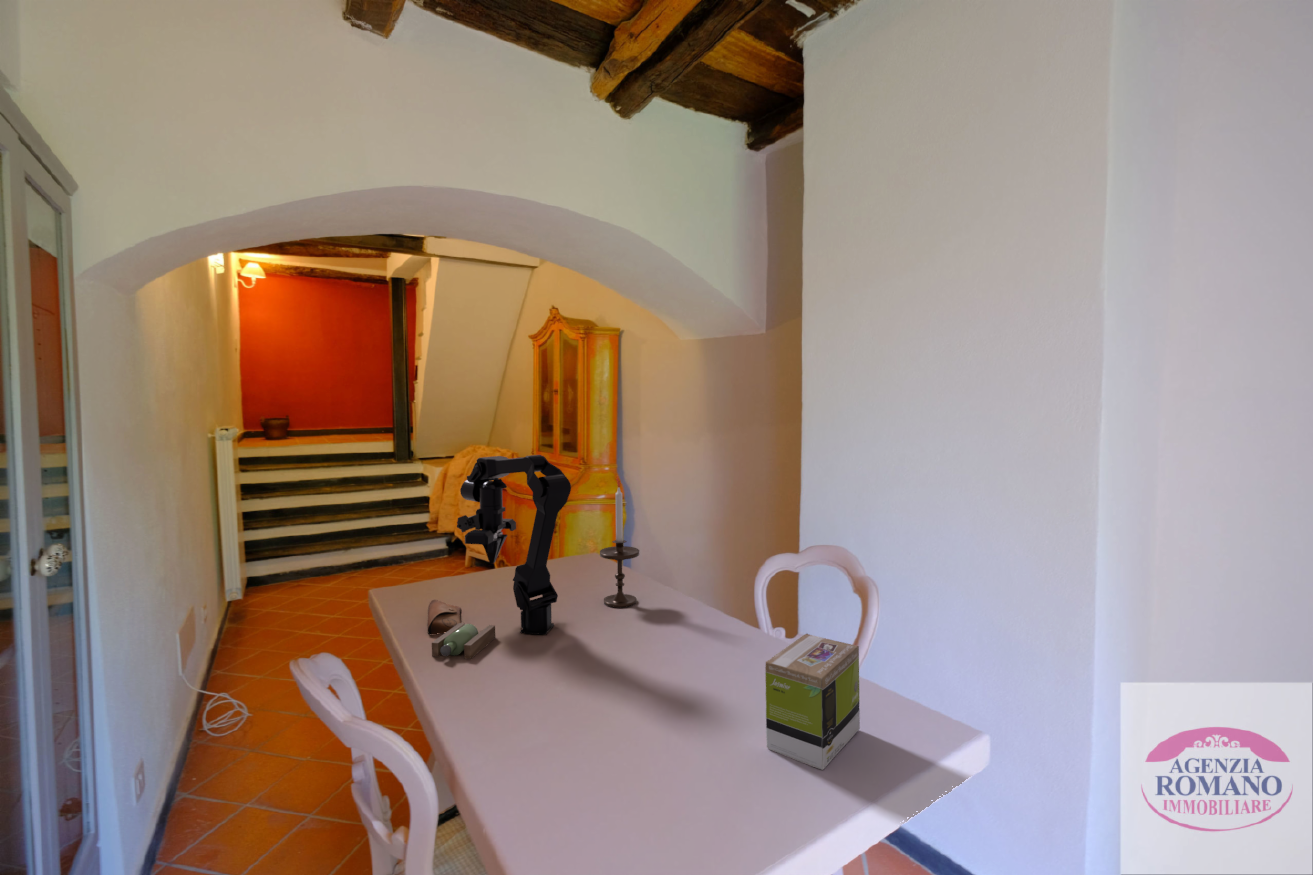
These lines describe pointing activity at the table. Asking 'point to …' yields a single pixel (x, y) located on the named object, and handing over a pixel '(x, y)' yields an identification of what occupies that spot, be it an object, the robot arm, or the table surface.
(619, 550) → the candlestick
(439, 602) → the sunglasses case
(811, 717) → the tea box
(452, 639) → the bottle
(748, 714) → the table surface
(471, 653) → the cradle
